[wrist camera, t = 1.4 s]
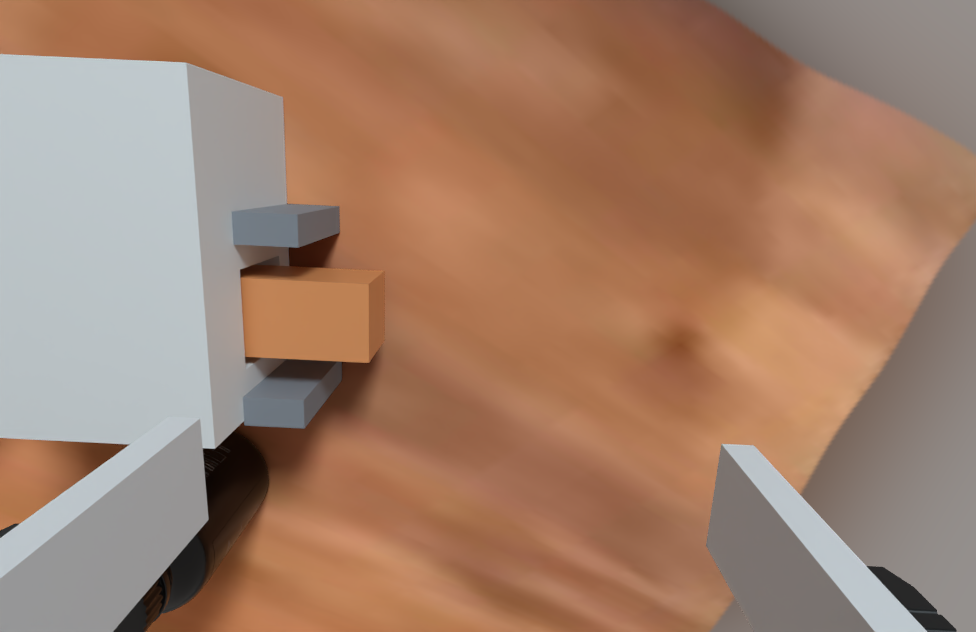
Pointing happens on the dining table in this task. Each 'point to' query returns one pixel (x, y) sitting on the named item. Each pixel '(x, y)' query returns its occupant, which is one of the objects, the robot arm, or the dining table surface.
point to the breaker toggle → (312, 313)
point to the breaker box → (142, 251)
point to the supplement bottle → (208, 529)
